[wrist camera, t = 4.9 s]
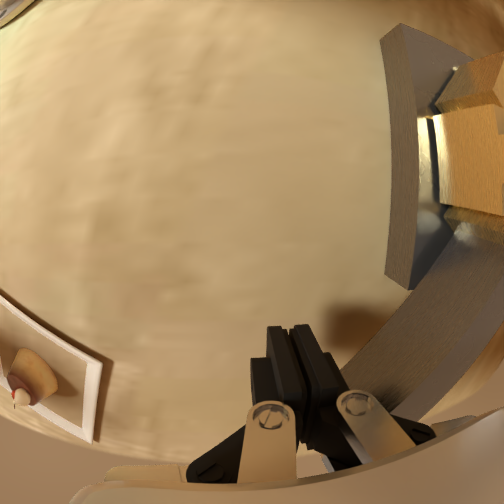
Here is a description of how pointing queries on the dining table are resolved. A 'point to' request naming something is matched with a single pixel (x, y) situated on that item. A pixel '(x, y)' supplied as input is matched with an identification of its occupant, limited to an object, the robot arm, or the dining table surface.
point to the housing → (416, 150)
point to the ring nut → (450, 258)
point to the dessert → (50, 380)
